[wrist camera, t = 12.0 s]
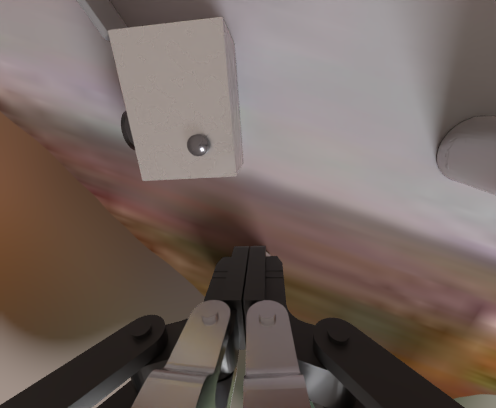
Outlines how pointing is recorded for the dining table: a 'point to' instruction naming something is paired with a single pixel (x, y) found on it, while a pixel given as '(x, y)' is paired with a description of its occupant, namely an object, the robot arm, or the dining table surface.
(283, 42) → the dining table surface
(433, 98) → the dining table surface
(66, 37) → the dining table surface
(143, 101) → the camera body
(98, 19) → the side door
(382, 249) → the dining table surface
